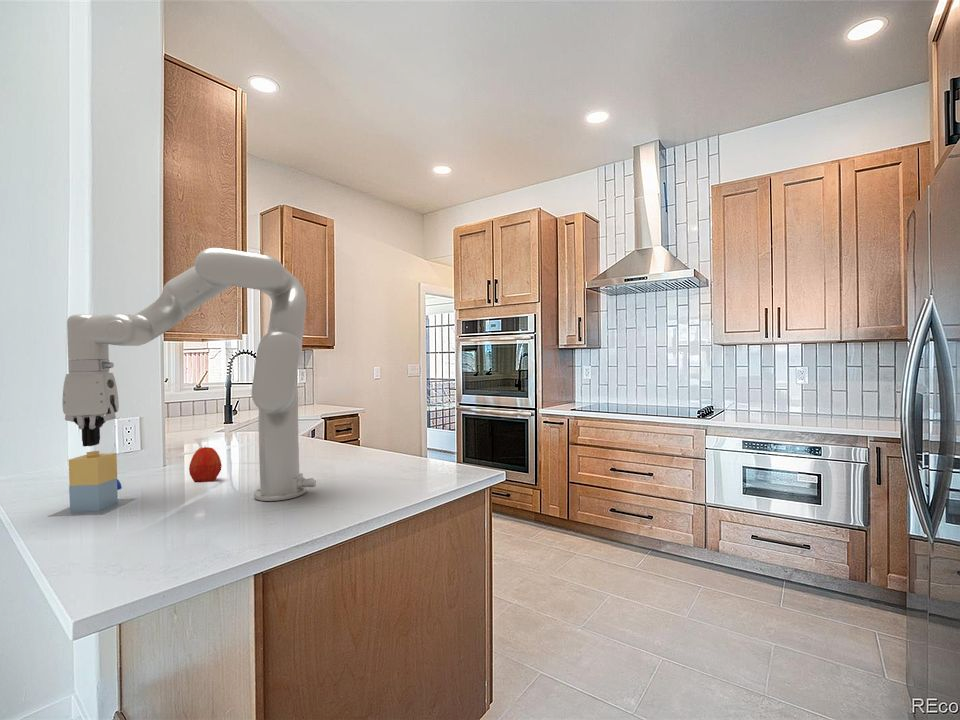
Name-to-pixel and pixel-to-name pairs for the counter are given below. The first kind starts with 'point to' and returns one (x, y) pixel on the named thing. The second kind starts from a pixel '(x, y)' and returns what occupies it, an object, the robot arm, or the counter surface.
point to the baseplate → (67, 511)
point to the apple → (205, 465)
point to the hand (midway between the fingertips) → (91, 445)
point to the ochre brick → (92, 468)
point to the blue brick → (93, 496)
